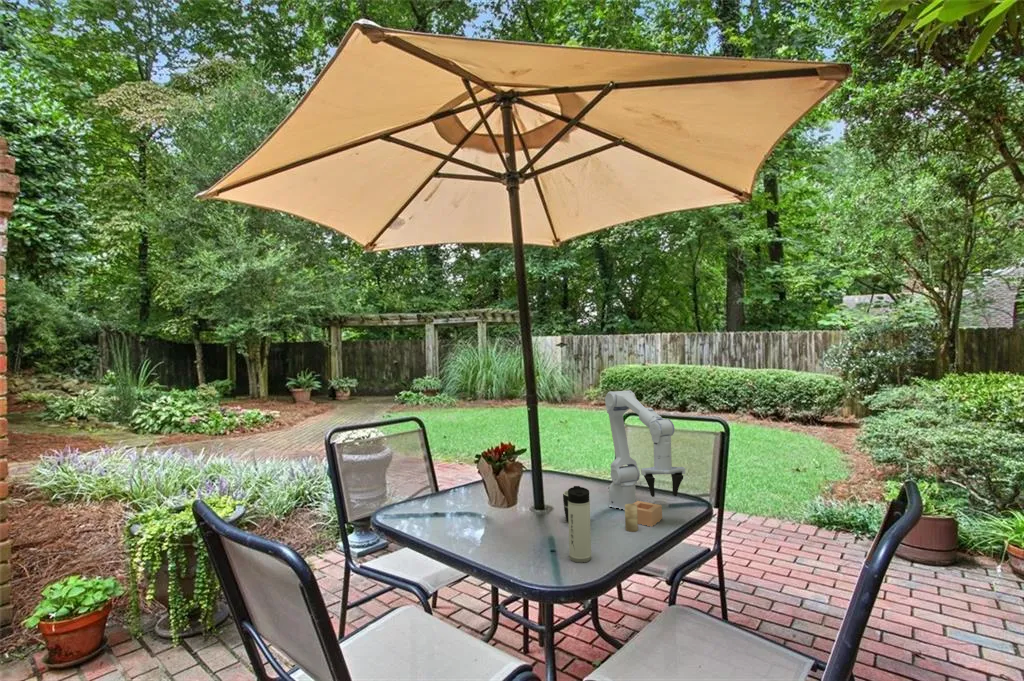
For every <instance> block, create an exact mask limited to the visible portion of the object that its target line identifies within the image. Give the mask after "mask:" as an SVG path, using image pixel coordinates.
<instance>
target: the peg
mask: <svg viewBox="0 0 1024 681" xmlns="http://www.w3.org/2000/svg"><path fill="white" fill-rule="evenodd" d="M624 521H625V522H624V523H625V531H626V532H629V533H636V532H638V531H639V526H638V525H639V524H638V518H637V505H635V504H625V510H624Z"/></svg>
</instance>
